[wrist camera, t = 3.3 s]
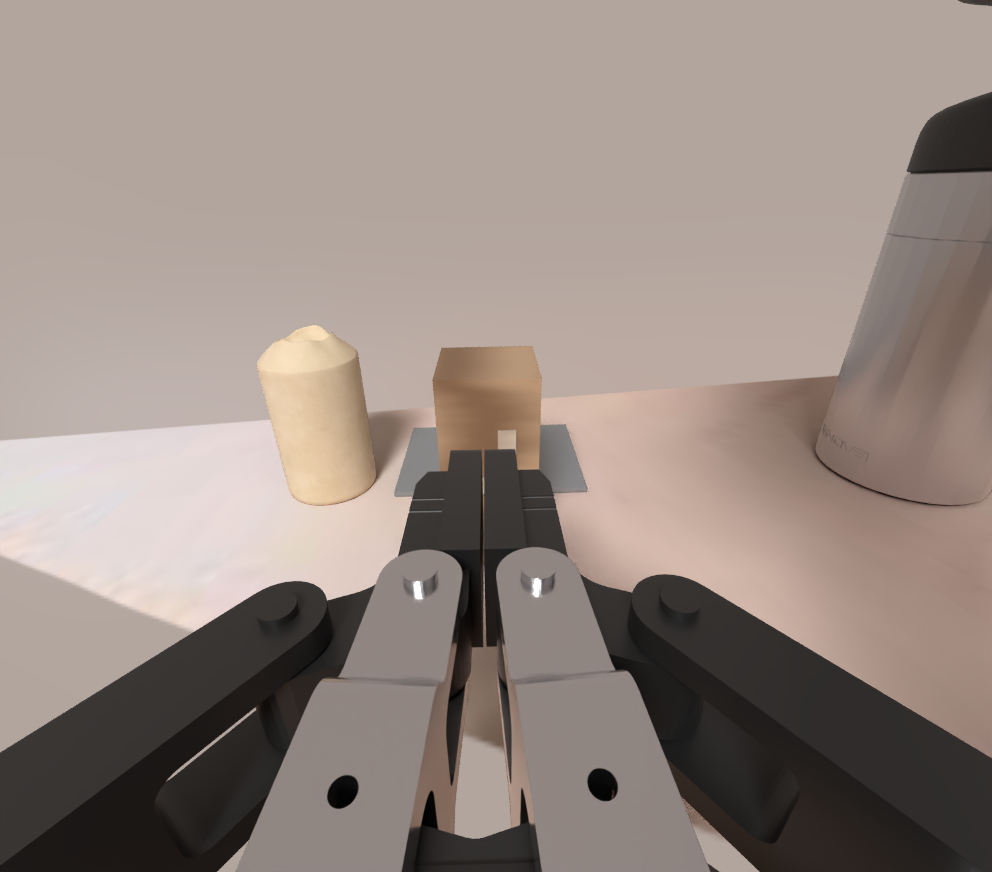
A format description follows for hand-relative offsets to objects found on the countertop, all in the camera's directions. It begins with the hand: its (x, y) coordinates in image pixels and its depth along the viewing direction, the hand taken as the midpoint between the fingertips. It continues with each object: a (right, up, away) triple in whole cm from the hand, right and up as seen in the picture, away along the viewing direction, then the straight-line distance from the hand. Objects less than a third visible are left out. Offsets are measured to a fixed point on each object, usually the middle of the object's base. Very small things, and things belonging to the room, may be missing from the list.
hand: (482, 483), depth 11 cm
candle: (-10, -2, +20) cm, 23 cm away
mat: (0, 0, +23) cm, 22 cm away
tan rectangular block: (0, -4, +15) cm, 16 cm away
